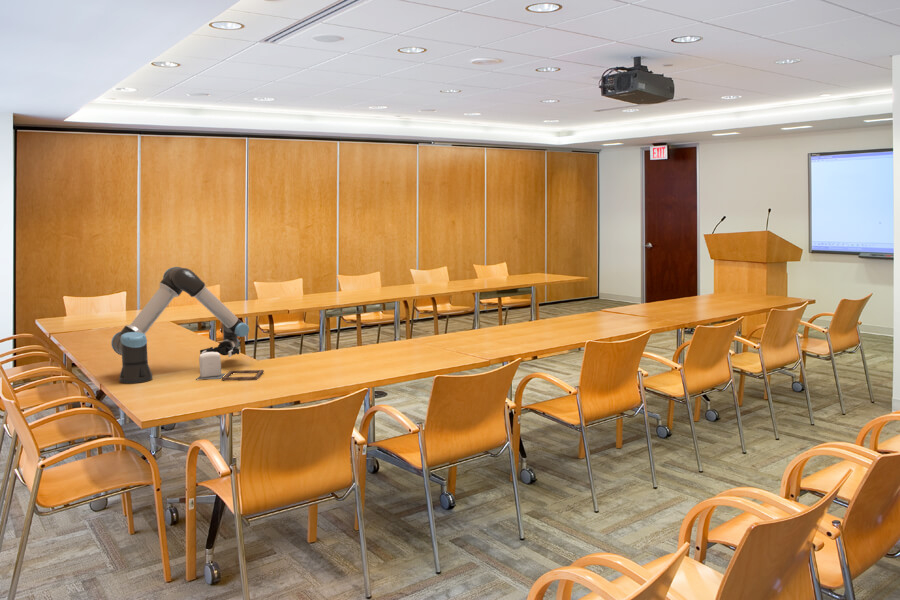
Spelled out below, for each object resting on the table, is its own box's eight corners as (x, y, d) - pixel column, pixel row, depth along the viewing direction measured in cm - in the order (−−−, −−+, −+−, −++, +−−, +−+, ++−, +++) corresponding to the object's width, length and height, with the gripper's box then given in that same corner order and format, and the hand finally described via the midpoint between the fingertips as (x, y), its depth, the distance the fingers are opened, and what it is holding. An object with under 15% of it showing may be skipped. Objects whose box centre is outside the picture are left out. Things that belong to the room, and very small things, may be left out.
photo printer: (200, 378, 365) (199, 353, 364) (199, 376, 369) (198, 352, 368) (222, 376, 370) (220, 351, 368) (220, 374, 373) (219, 350, 372)
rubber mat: (195, 380, 363) (195, 379, 363) (202, 375, 375) (202, 374, 375) (220, 379, 364) (220, 378, 364) (226, 374, 376) (226, 373, 376)
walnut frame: (222, 380, 361) (221, 377, 361) (230, 373, 378) (230, 370, 377) (257, 380, 362) (256, 377, 362) (263, 372, 379) (263, 369, 378)
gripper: (249, 353, 400) (240, 361, 378) (203, 354, 398) (191, 362, 377) (249, 340, 399) (239, 347, 378) (202, 341, 398) (190, 348, 376)
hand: (215, 354), depth 377 cm, fingers open, 13 cm apart
